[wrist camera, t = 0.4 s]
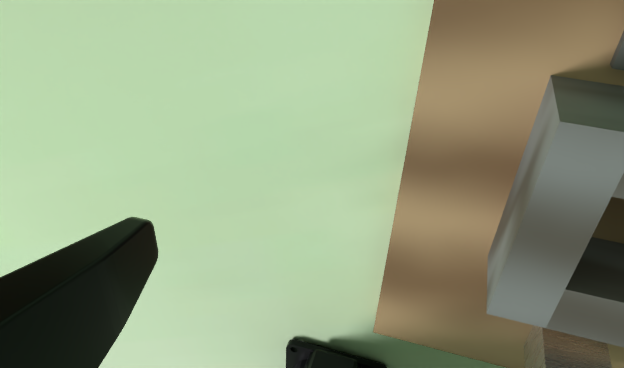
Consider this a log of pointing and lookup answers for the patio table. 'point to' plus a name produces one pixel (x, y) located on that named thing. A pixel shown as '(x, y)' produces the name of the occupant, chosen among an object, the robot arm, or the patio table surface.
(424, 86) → the chuck stand
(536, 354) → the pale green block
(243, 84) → the patio table surface
